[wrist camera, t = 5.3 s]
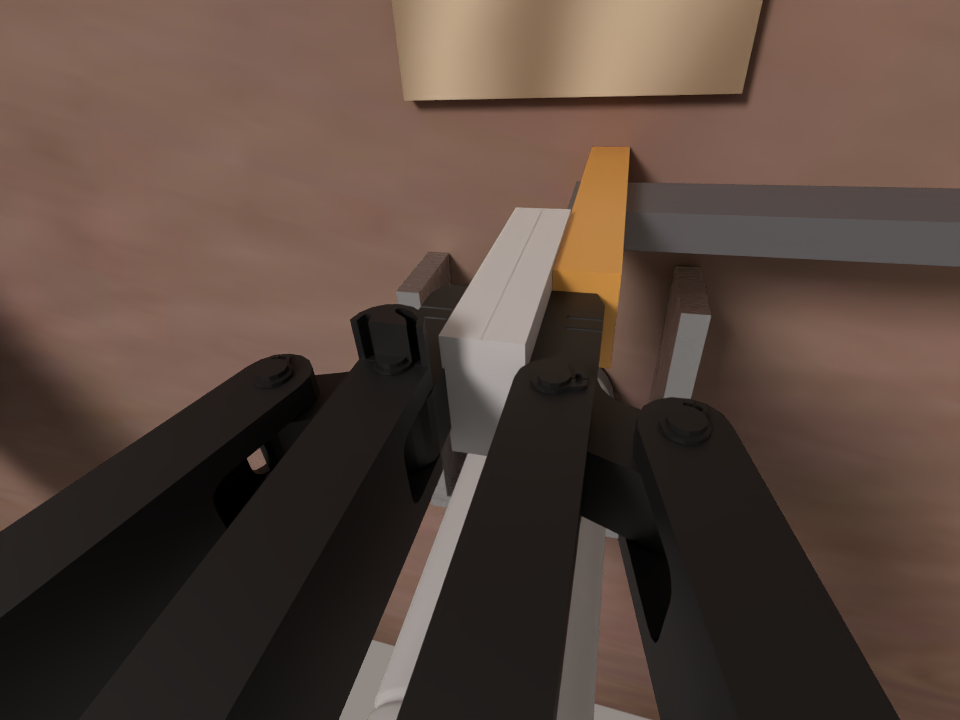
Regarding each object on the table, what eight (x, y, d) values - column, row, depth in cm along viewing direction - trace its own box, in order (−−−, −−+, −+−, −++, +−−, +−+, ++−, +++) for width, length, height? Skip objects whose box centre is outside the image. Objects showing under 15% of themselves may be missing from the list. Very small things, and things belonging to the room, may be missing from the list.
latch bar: (580, 208, 21) (537, 360, 12) (584, 146, 19) (538, 268, 11) (955, 220, 17) (1260, 436, 9) (992, 147, 16) (1397, 320, 8)
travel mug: (538, 316, 24) (347, 913, 8) (641, 393, 25) (642, 1050, 9) (469, 388, 28) (250, 892, 12) (561, 452, 29) (468, 992, 13)
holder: (452, 454, 31) (431, 505, 28) (428, 252, 24) (395, 291, 20) (652, 485, 28) (654, 545, 25) (700, 267, 21) (711, 315, 18)
